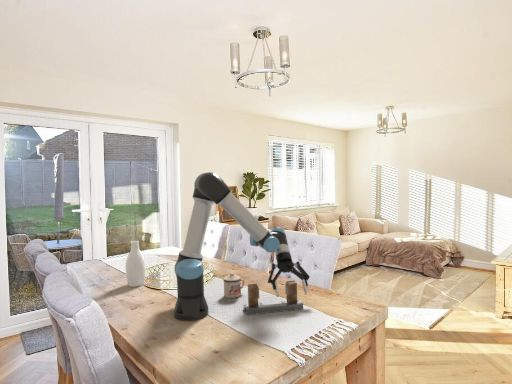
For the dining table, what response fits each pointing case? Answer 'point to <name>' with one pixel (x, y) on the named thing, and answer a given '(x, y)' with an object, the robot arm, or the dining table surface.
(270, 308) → the rail
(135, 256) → the bottle
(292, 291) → the brown wooden upright block
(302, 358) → the dining table surface
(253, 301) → the post
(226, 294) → the teacup with lid
